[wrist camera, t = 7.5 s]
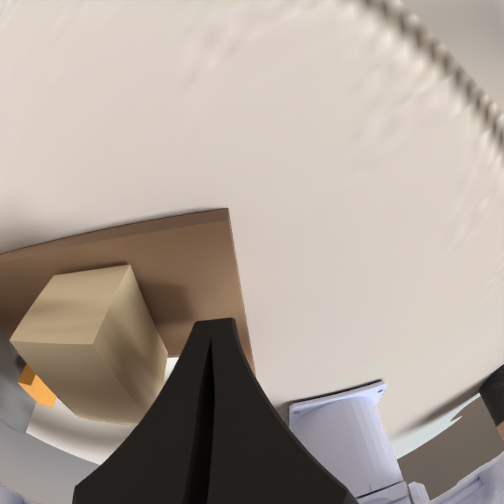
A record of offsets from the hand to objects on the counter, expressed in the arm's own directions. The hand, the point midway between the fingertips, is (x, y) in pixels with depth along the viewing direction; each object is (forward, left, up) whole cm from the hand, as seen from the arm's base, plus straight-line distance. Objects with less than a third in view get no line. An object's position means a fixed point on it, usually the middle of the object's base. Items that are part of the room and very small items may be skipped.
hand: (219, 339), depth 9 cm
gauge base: (-1, +8, -3) cm, 9 cm away
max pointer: (-5, +13, -2) cm, 14 cm away
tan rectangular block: (-1, +5, -2) cm, 5 cm away
